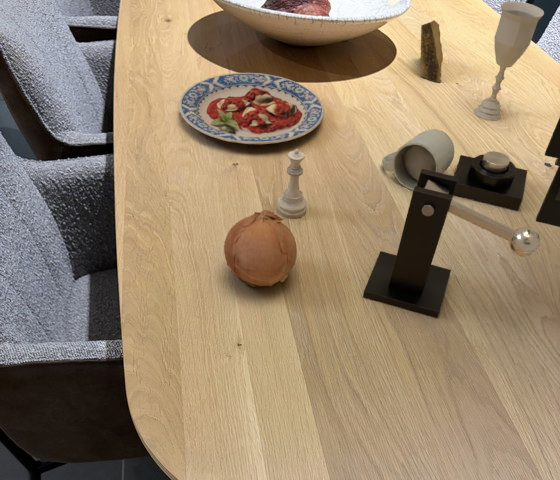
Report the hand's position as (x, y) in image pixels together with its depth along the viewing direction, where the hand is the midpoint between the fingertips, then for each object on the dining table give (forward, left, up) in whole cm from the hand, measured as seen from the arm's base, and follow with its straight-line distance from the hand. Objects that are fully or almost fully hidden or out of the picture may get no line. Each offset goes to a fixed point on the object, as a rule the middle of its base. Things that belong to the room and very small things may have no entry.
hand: (553, 187), depth 66 cm
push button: (+5, -28, -15) cm, 32 cm away
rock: (+22, -68, -18) cm, 74 cm away
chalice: (+8, -54, -18) cm, 58 cm away
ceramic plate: (+48, -33, -18) cm, 61 cm away
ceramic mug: (+17, -26, -18) cm, 36 cm away
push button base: (+5, -28, -18) cm, 34 cm away
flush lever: (+7, +1, -7) cm, 10 cm away
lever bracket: (+12, +1, -18) cm, 22 cm away
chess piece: (+32, -9, -18) cm, 38 cm away
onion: (+31, +7, -18) cm, 37 cm away
